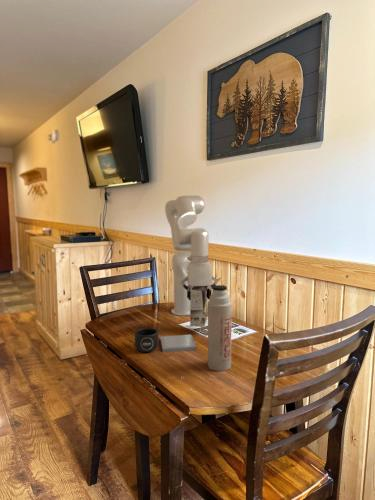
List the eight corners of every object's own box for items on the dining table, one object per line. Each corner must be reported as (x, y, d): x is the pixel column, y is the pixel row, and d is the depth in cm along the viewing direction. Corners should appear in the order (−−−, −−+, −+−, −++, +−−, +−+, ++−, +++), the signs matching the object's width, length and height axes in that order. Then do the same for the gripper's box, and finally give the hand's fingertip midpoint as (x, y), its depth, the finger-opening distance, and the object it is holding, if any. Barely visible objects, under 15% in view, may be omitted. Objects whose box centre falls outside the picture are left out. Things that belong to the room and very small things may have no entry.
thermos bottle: (235, 368, 117) (236, 287, 113) (214, 372, 114) (214, 290, 110) (223, 358, 124) (224, 282, 121) (203, 363, 121) (203, 285, 117)
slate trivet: (160, 339, 143) (160, 336, 143) (191, 337, 145) (191, 334, 145) (162, 351, 130) (162, 348, 130) (196, 349, 132) (196, 346, 132)
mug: (159, 353, 129) (158, 335, 129) (135, 355, 128) (134, 336, 127) (156, 341, 141) (156, 324, 140) (134, 342, 140) (134, 325, 139)
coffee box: (204, 327, 146) (205, 290, 143) (189, 326, 147) (189, 289, 144) (207, 319, 155) (208, 285, 152) (193, 318, 156) (193, 284, 153)
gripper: (180, 261, 141) (180, 302, 144) (221, 260, 144) (220, 300, 147) (178, 258, 149) (178, 297, 152) (217, 257, 151) (216, 295, 154)
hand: (199, 298), depth 149 cm, fingers closed on coffee box, 7 cm apart
